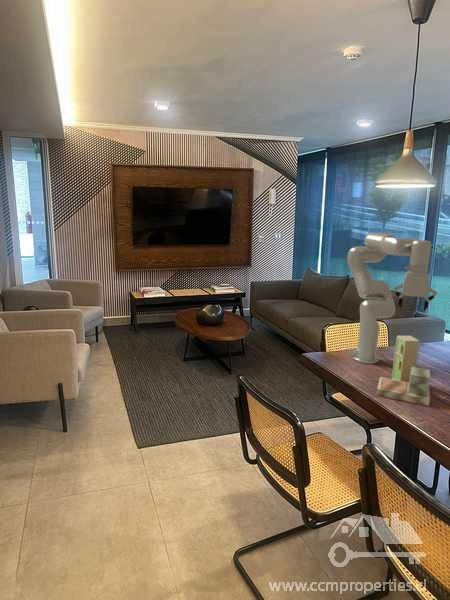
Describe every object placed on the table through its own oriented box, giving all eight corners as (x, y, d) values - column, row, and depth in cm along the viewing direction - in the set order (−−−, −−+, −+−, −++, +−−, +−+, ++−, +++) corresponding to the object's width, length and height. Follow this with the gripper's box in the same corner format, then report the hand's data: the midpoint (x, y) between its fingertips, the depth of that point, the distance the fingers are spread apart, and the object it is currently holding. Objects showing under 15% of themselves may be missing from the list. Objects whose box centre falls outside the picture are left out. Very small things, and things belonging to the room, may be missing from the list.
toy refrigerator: (389, 378, 196) (395, 335, 191) (404, 378, 197) (411, 335, 192) (397, 385, 188) (404, 340, 184) (413, 386, 189) (420, 341, 184)
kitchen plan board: (376, 395, 178) (379, 370, 176) (379, 382, 191) (382, 359, 188) (428, 405, 171) (432, 380, 168) (428, 392, 183) (432, 368, 181)
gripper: (395, 268, 181) (390, 307, 185) (440, 272, 174) (434, 313, 178) (396, 266, 188) (391, 304, 191) (440, 270, 181) (434, 309, 185)
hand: (412, 308), depth 185 cm, fingers open, 9 cm apart
